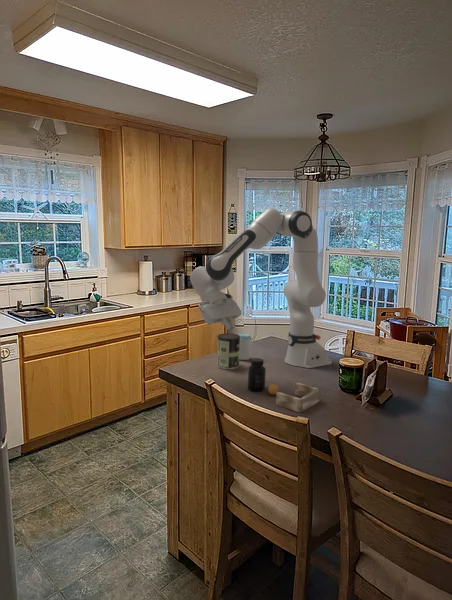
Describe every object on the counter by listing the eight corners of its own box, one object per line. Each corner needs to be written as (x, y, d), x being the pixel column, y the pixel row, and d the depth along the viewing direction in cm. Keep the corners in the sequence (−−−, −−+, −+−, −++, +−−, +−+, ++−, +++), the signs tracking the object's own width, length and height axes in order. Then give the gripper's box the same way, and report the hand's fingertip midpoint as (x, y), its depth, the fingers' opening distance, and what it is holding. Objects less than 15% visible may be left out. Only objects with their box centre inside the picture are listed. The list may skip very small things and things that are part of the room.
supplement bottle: (266, 387, 172) (268, 358, 170) (262, 393, 165) (263, 363, 163) (250, 384, 174) (251, 356, 172) (245, 390, 168) (246, 361, 165)
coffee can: (239, 362, 202) (240, 333, 199) (239, 370, 191) (240, 339, 189) (217, 361, 202) (217, 332, 199) (216, 369, 192) (217, 338, 189)
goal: (275, 404, 155) (276, 392, 155) (296, 393, 166) (297, 382, 166) (300, 412, 149) (301, 400, 148) (320, 400, 160) (321, 389, 159)
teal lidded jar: (252, 360, 205) (253, 336, 203) (238, 361, 203) (239, 336, 201) (248, 356, 212) (249, 332, 210) (234, 356, 210) (235, 333, 208)
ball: (275, 391, 167) (275, 382, 166) (280, 395, 163) (280, 385, 163) (266, 393, 166) (266, 383, 165) (270, 396, 162) (271, 386, 161)
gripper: (201, 299, 169) (219, 327, 164) (233, 294, 185) (250, 320, 180) (192, 308, 173) (209, 336, 168) (225, 303, 188) (241, 328, 184)
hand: (231, 328), depth 174 cm, fingers closed
